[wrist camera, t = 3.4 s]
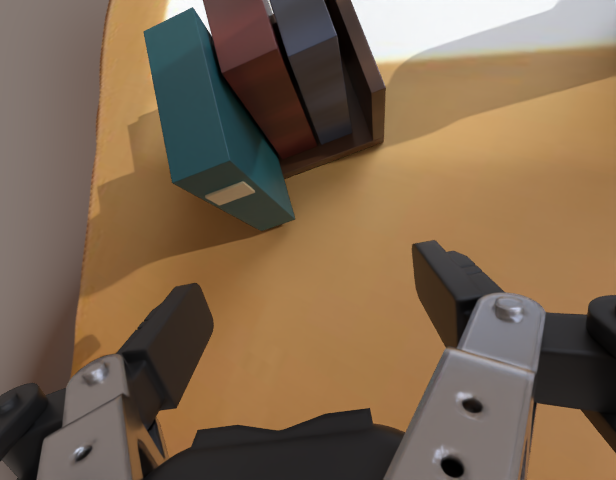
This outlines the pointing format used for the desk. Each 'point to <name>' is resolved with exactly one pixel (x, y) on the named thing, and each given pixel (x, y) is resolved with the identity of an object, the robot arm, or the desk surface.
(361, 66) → the book rack
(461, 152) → the desk surface
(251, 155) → the book
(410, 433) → the robot arm
